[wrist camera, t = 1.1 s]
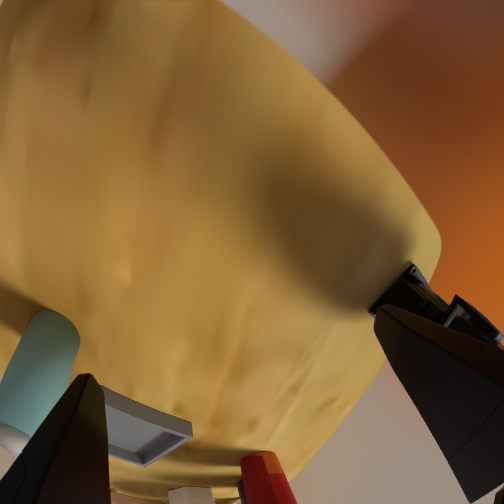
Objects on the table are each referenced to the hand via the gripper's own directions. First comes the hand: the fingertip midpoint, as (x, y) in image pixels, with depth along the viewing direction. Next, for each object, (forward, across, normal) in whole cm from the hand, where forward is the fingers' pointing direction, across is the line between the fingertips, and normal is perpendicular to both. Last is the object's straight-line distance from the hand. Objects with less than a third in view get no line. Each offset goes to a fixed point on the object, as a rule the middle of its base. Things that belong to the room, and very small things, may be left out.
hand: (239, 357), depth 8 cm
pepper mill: (+13, +15, +8) cm, 21 cm away
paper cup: (+13, 0, +38) cm, 40 cm away
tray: (+13, +14, +23) cm, 30 cm away
